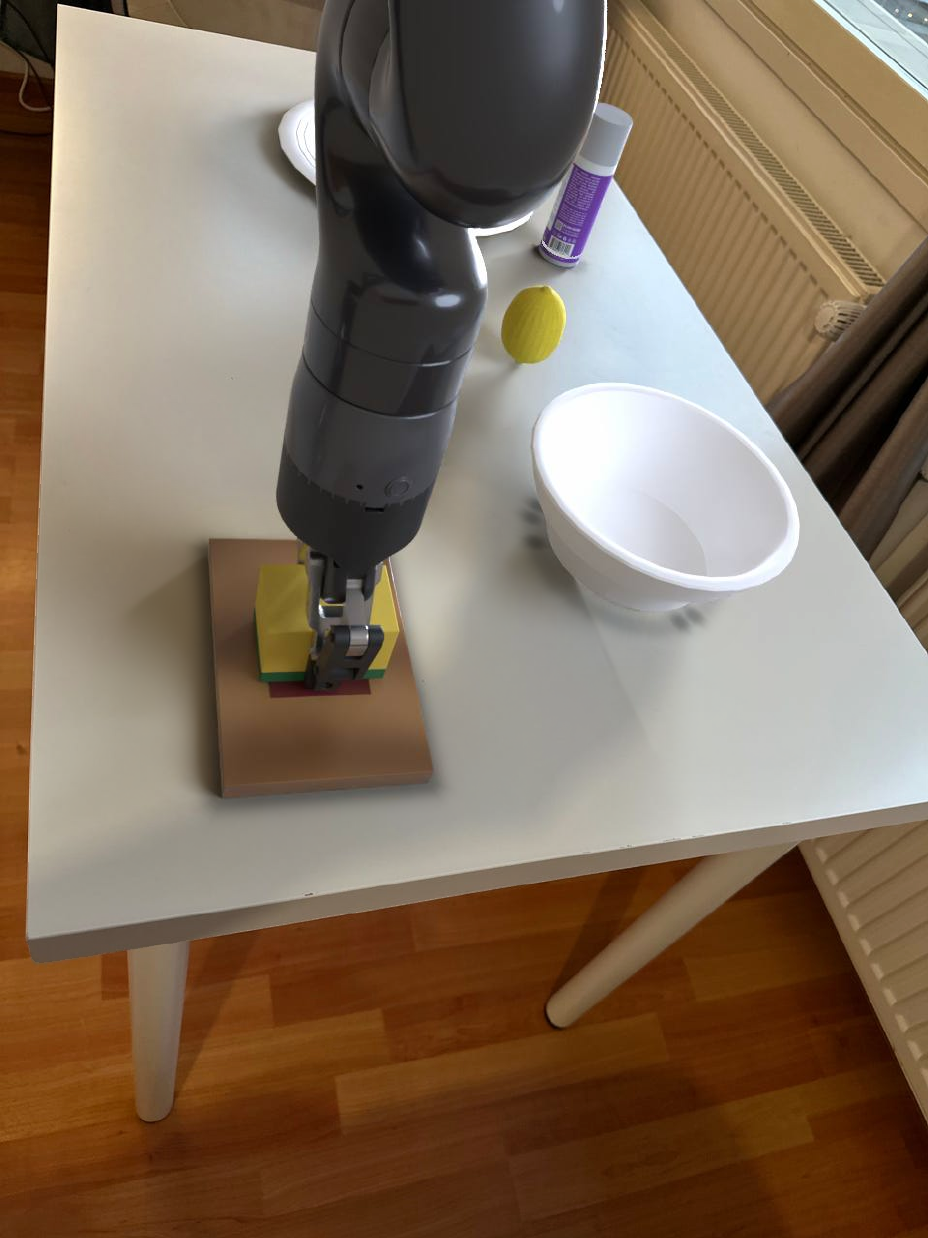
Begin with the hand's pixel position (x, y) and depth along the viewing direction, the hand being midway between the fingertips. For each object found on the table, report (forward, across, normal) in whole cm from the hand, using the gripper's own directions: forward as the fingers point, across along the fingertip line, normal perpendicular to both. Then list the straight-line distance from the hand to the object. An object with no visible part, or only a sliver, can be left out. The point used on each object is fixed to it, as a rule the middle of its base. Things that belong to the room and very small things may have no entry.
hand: (316, 646), depth 54 cm
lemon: (+2, -33, +23) cm, 40 cm away
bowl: (+2, -10, +26) cm, 28 cm away
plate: (+2, -65, +18) cm, 67 cm away
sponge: (0, 0, 0) cm, 0 cm away
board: (+2, 0, 0) cm, 2 cm away
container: (+2, -53, +33) cm, 62 cm away
